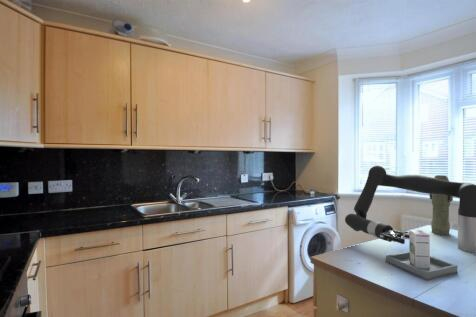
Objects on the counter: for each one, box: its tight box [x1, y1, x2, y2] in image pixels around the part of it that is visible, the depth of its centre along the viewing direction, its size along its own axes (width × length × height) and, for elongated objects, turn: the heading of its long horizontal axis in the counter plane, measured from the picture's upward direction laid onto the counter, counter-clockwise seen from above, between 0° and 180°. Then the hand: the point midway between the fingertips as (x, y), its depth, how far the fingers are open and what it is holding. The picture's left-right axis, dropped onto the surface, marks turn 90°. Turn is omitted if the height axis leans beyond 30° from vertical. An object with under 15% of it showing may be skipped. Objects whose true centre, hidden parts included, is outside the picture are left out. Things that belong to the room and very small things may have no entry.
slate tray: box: [385, 251, 458, 281], centre depth 113 cm, size 18×18×3 cm
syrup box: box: [408, 229, 431, 269], centre depth 113 cm, size 6×6×14 cm
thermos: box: [429, 174, 454, 236], centre depth 161 cm, size 9×12×35 cm
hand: (411, 240), depth 116 cm, fingers open, 8 cm apart
